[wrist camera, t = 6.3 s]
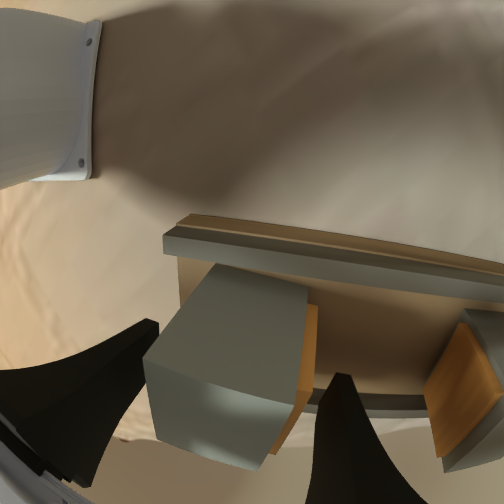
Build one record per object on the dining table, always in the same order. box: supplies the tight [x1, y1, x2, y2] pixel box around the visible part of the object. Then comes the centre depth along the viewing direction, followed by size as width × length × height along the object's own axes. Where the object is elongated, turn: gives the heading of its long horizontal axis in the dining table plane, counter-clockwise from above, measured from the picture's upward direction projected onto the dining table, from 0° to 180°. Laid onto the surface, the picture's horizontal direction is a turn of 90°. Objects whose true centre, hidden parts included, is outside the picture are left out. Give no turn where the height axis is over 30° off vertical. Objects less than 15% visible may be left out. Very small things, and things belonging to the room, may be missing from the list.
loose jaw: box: [143, 263, 318, 471], centre depth 10 cm, size 5×4×6 cm
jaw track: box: [163, 214, 504, 473], centre depth 10 cm, size 9×18×8 cm, turn 86°
